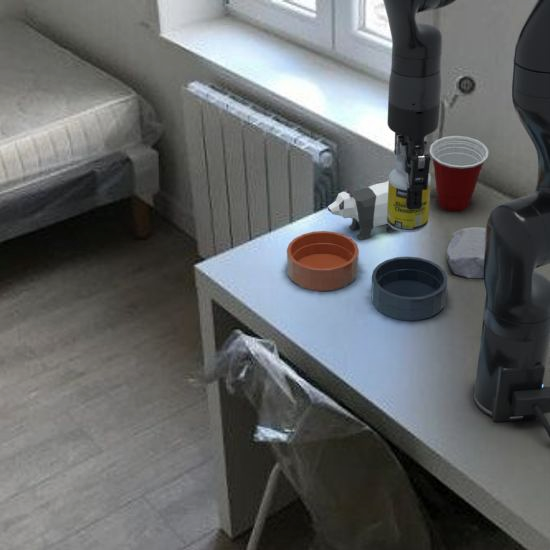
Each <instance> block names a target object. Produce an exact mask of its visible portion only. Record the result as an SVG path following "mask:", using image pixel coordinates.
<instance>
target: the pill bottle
mask: <svg viewBox="0 0 550 550" xmlns="http://www.w3.org/2000/svg"><path fill="white" fill-rule="evenodd" d="M395 156H396V157H395V168H394V169H392V170H391V172H390V173H389V176H388V183H389V186H388V207H387V222H388V226H389V225H390V226H391V227H392V228H393V229H395V230H397V231H396V232H400V233H416V232H420V231H421V230H423V229H425V228H426V227H427V225H428V222H429V213H430V212H429V211H430V201H431V200H430V199H431V189H432V188H431V187H432V176H431V174H430V173H429V176H428V187H427V190H422V203H421V208H419V209H408V208H407V206H406V198H407V185H406V184H407V176H406V173H404V172H403V164H402V154H401V153H400V154H398V155H395ZM407 165H408V167H410V168H411V164H408V163H407ZM415 180H420V178H416V179H415Z"/></svg>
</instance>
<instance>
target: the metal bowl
mask: <svg viewBox="0 0 550 550" xmlns="http://www.w3.org/2000/svg"><path fill="white" fill-rule="evenodd" d="M448 278H449V277H448V275H447V272H446V271H445V270H444V269H443V268H442V267H441V266H440V265H439V264H437V263H436V262H433V261H431V260H429V259H425V258H423V257H417V256H397V257H392V258H388V259H386V260H384V261H382V262H381V263H379V264H377V265H376V266H375V267H374V269H373V270H372V274H371V287H370V298H371V302H372V304H373V305H374V307H375V308H376V309H377V310H378V311H379V312H380V313H382V314H384V315H385V316H387V317H390V318H392V319H396V320H400V321H401V320H402V321H420V320H425V319H429V318H431V317H434V316H435V315H436V314H438V313H440V312H441V311H442V310H443V308H444V307H445V306H446V299H447V290H448V289H447V288H448Z"/></svg>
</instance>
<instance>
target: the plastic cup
mask: <svg viewBox="0 0 550 550" xmlns="http://www.w3.org/2000/svg"><path fill="white" fill-rule="evenodd" d="M428 152H429V155H430V157H431V158H432V163H433V168H434V179H435V186H436V191H437V192H436V193H437V201H438V205H439V207H440V208H442V209H443V210H445V211H447V212H453V213H457V212H462V211H465V210H467V209H468V208H469V206H470V205H471V201H472V198H473V194H474V192H475V189H476V185H477V181H478V179H479V175H480V173H481V170H482V168H483V165H484V163H485V161H486V160H487V159H488V157H489V149H488V147H487V146H486V144H484V143H483V142H481V141H480V140H478V139H475V138H472V137H469V136H463V135H450V136H443V137H441V138H439V139H436V140H434V142H433V143H432V144H430V147H429V151H428Z"/></svg>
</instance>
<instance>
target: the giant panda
mask: <svg viewBox="0 0 550 550" xmlns="http://www.w3.org/2000/svg"><path fill="white" fill-rule="evenodd" d="M388 186H389V182H380V183H376V184H375V183H374V184H372V185H370V186H366V187H364V188H360V189H358V190H355V191H351V192H350V191H349V189H348V188H347V187H345V188H344V191H341V192H339V193H338V194H337V196H336V197H335V199H334V201H333V202H332V203H330V204H329V205H328V206H327V211H328V212H330V213H331V214H332V215H335V216H339V217H342V218H344V219H351V220H352V221H351V224H350V225H349V227H348V228H349V231H351V232H353V231H359V233H358V234H356V238H357V240H359V241H364V240H367V239H368V240H369V239H370V238H371V237H372V236H371V235H372V231H373V229H374V227H378V226H383V225H387V224H388V222H387V207H388ZM385 232H386V233H389V234H390V233H395V232H398V231H397V230H395V229H393V228H392V227H391V226H390V225H389V224H388V226H387V227H385Z"/></svg>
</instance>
